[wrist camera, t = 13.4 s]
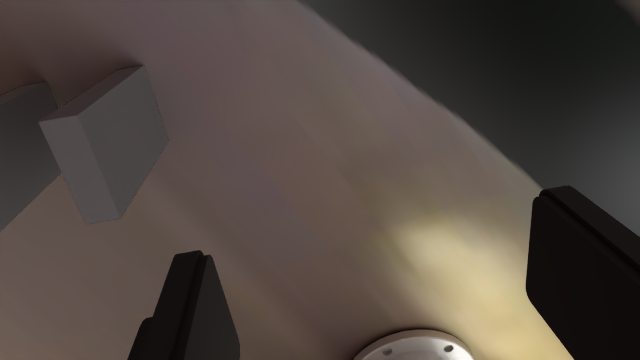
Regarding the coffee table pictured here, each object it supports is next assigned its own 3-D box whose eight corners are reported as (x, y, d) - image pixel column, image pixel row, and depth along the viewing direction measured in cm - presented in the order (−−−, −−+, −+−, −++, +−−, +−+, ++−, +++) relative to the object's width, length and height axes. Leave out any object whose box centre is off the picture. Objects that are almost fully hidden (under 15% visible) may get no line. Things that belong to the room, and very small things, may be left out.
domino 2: (144, 65, 27) (77, 115, 18) (168, 140, 29) (120, 218, 20) (118, 69, 27) (38, 121, 18) (144, 144, 29) (85, 224, 20)
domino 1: (46, 81, 26) (-71, 140, 18) (78, 155, 29) (-11, 241, 20) (20, 85, 26) (-110, 147, 18) (54, 159, 29) (-46, 247, 20)
